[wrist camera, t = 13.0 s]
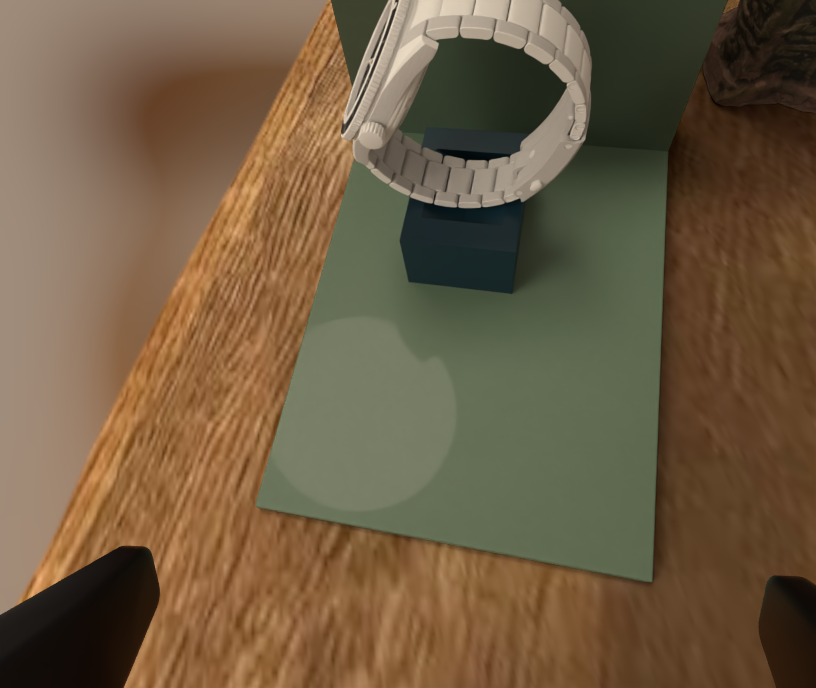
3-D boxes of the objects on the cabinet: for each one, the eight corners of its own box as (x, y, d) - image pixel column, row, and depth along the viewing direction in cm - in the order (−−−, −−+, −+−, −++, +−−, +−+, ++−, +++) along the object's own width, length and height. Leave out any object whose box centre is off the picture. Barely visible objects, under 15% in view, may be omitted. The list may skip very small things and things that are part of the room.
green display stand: (650, 583, 20) (741, 562, 13) (258, 508, 23) (154, 455, 16) (667, 123, 28) (731, -50, 21) (372, 104, 31) (338, -56, 23)
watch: (389, 173, 28) (338, -72, 18) (568, 188, 27) (619, -69, 17) (363, 278, 26) (288, 66, 16) (556, 301, 25) (605, 83, 15)
